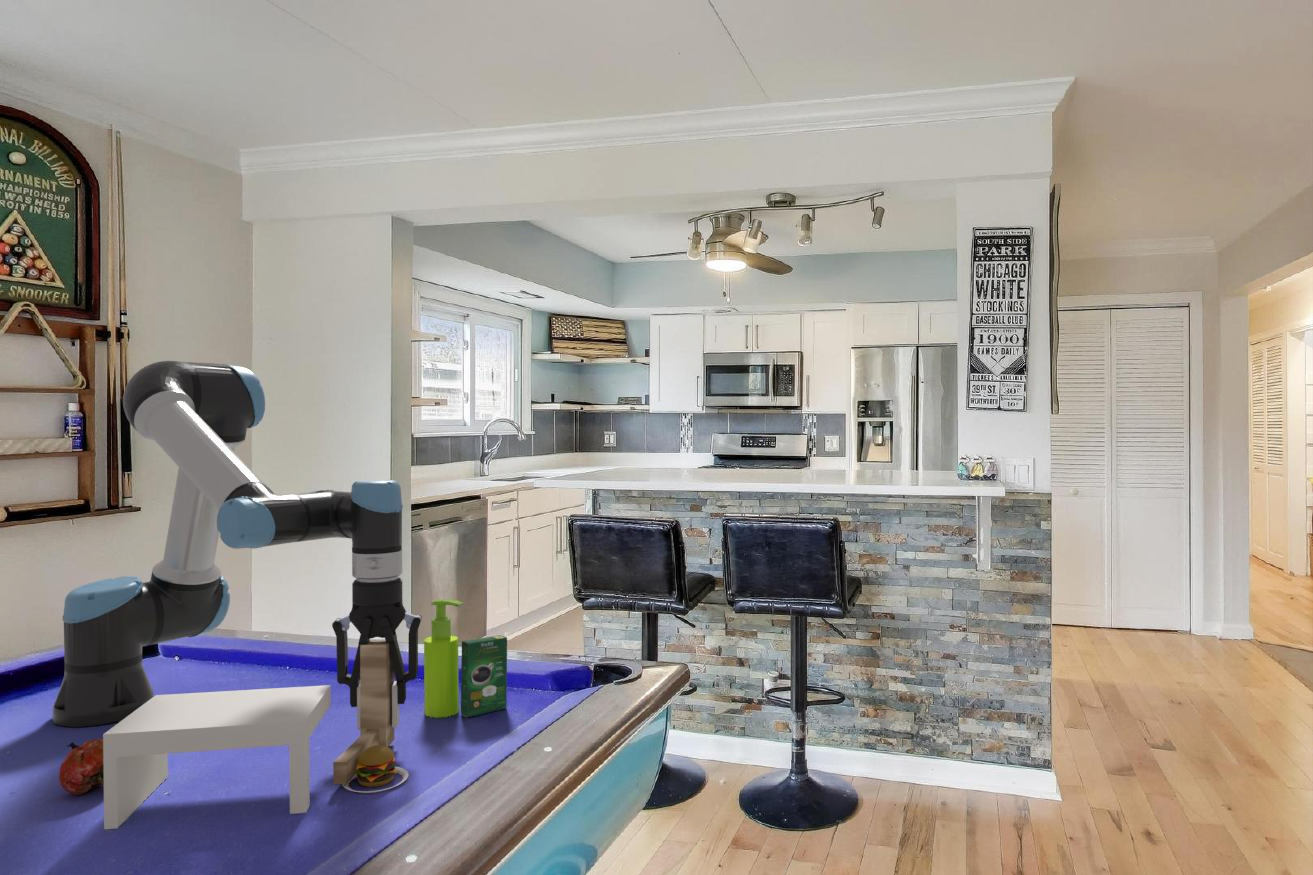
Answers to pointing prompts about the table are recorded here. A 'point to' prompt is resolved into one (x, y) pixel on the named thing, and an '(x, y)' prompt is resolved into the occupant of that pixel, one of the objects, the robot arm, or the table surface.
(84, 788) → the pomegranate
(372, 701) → the block
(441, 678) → the soap dispenser
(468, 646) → the coffee box
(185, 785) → the table surface
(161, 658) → the table surface
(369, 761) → the hamburger
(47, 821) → the table surface
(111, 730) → the shelf
